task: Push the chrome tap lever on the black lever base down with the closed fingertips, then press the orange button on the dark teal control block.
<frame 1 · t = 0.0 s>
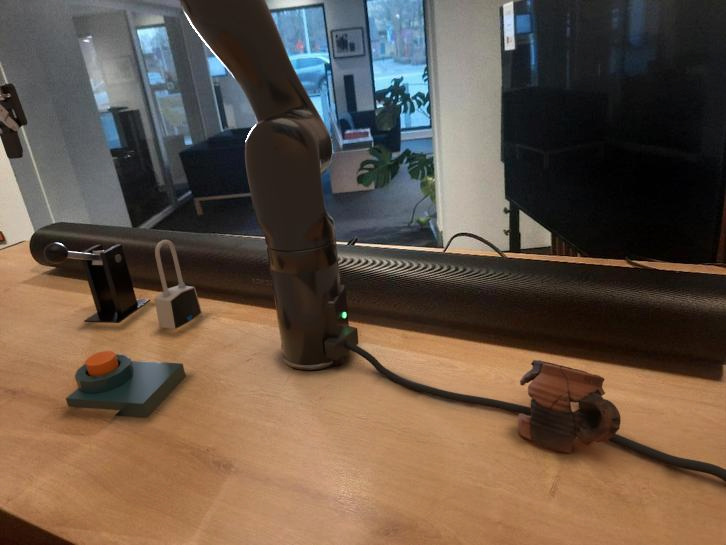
button: (102, 363, 64), point 5 cm above the table, slide at 0.2 cm
control block: (130, 394, 65), on the table
black lever base: (119, 315, 89), on the table
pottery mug: (565, 430, 53), on the table
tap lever: (80, 255, 80), point 13 cm above the table, hinge at 25.0°
padlock: (182, 325, 84), on the table
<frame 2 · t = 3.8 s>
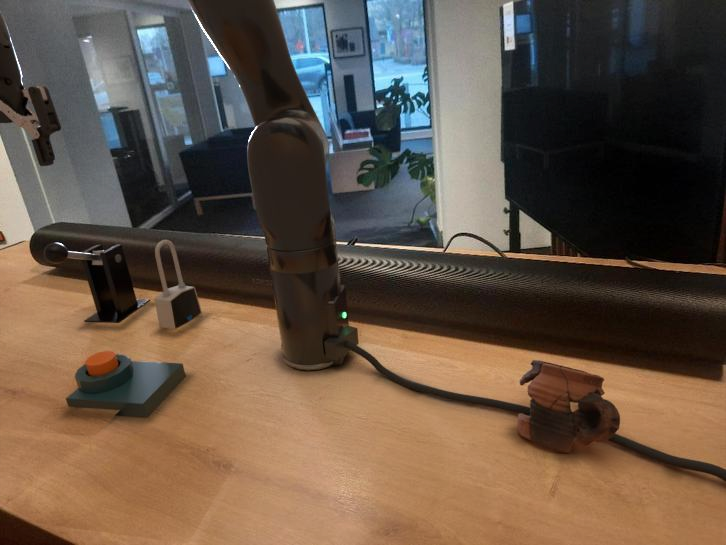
hand: (19, 167, 71), 28 cm above the table, tool pointing down, fingers open, 8 cm apart
nothing on the table moved.
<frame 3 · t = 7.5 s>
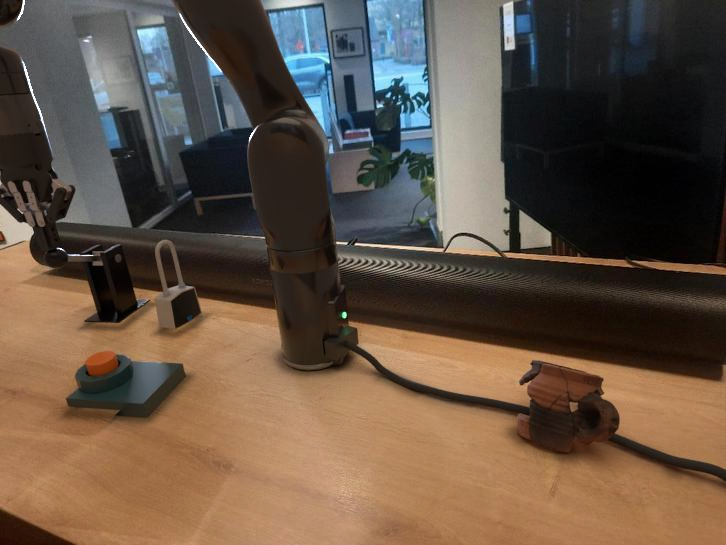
hand: (51, 248, 75), 16 cm above the table, tool pointing down, fingers closed
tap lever: (80, 258, 80), point 13 cm above the table, hinge at 20.6°
everything else where it was.
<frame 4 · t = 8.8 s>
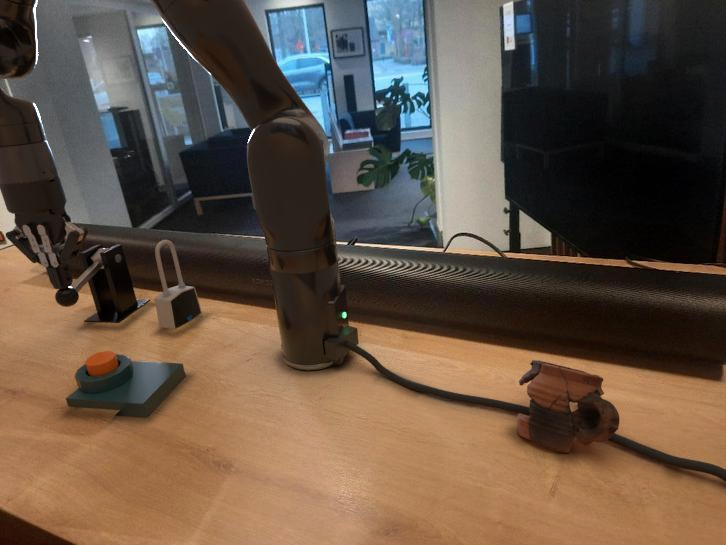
hand: (63, 287, 77), 10 cm above the table, tool pointing down, fingers closed
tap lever: (85, 277, 81), point 10 cm above the table, hinge at -16.4°, touching gripper
everything else where it was.
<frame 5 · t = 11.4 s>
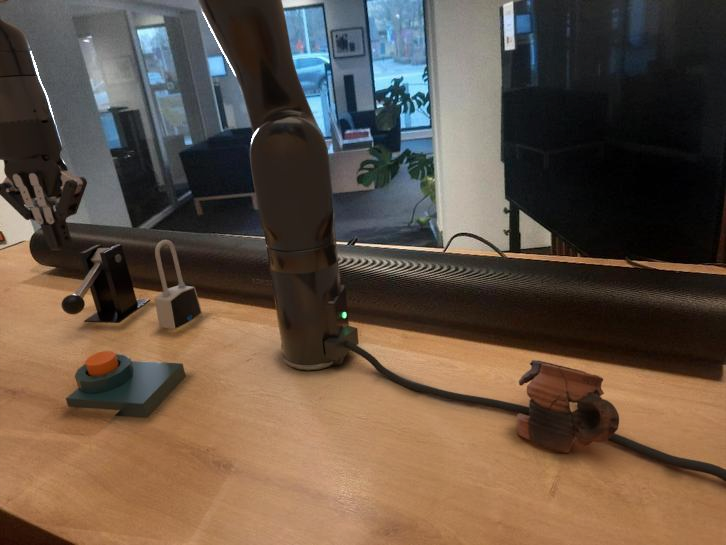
hand: (61, 248, 68), 18 cm above the table, tool pointing down, fingers closed
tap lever: (88, 281, 82), point 9 cm above the table, hinge at -26.6°
everything else where it was.
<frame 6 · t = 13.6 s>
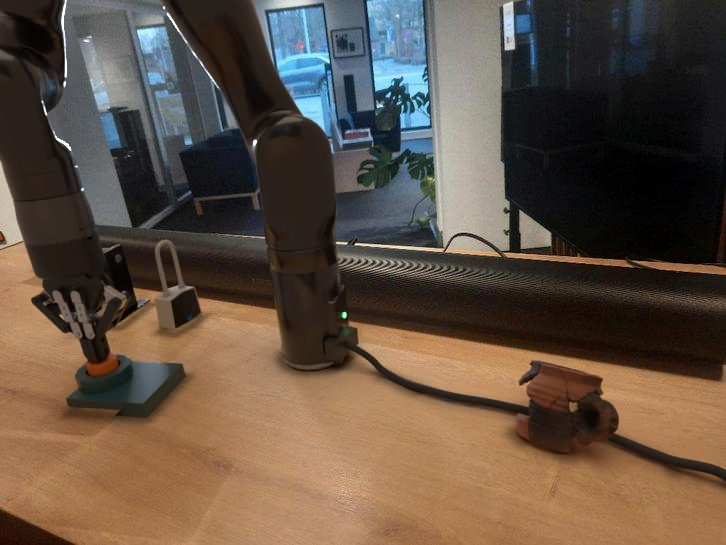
hand: (99, 359, 64), 5 cm above the table, tool pointing down, fingers closed
button: (102, 365, 65), point 4 cm above the table, slide at -0.1 cm, touching gripper
everything else where it was.
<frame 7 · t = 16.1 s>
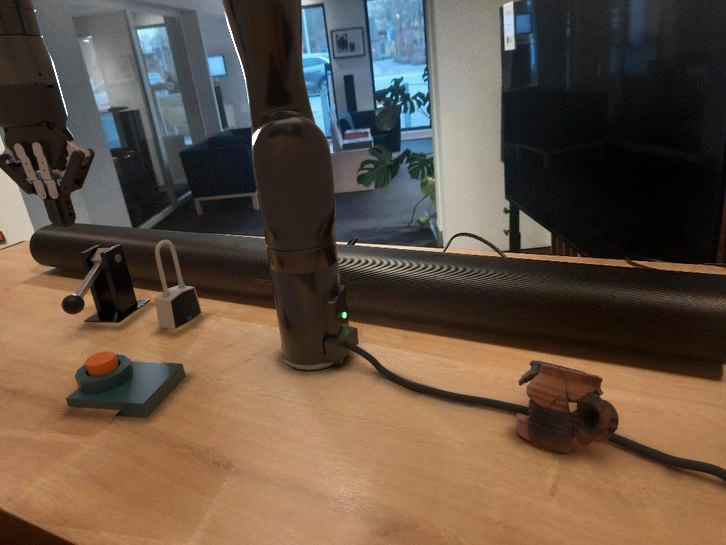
hand: (65, 225, 64), 22 cm above the table, tool pointing down, fingers closed
button: (102, 363, 64), point 5 cm above the table, slide at 0.1 cm
everything else where it was.
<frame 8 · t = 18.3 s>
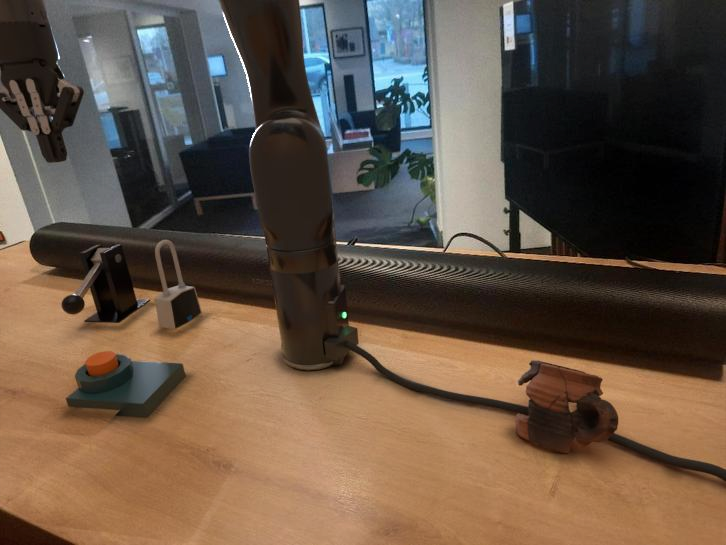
hand: (57, 161, 68), 29 cm above the table, tool pointing down, fingers closed
nothing on the table moved.
at the end: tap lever at -27° (first picture: +25°); button pushed in 1.1 cm at the most during the clip, back to where it started at the end; button slide at 0.1 cm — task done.
